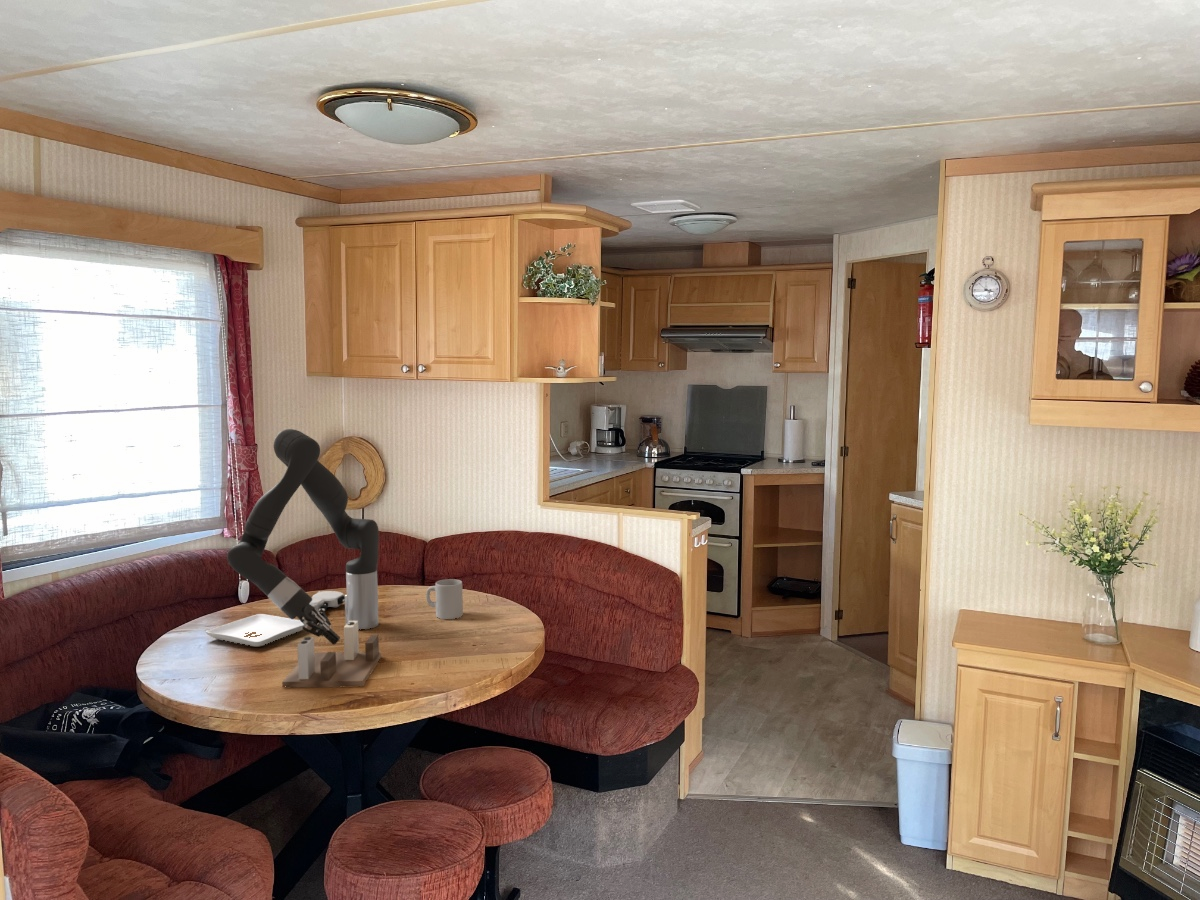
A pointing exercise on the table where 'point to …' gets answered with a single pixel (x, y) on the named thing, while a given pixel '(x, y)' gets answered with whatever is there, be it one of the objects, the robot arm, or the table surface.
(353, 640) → the tile one
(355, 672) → the brown piece
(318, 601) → the robot toy
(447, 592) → the mug
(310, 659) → the tile two
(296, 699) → the table surface
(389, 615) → the table surface
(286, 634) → the salad plate
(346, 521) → the robot arm
